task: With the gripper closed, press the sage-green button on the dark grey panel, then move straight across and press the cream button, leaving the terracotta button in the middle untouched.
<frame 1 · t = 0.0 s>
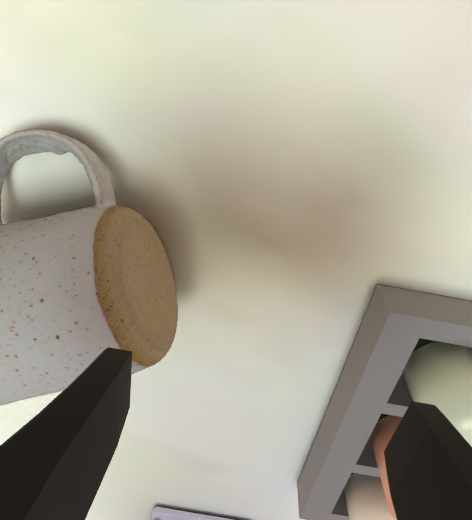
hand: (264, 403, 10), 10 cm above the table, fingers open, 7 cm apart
panel: (394, 411, 24), on the table
ceramic mug: (84, 236, 20), on the table
button terracotta: (413, 467, 21), point 4 cm above the table, slide at 0.0 cm
button sage: (456, 399, 18), point 4 cm above the table, slide at 0.0 cm
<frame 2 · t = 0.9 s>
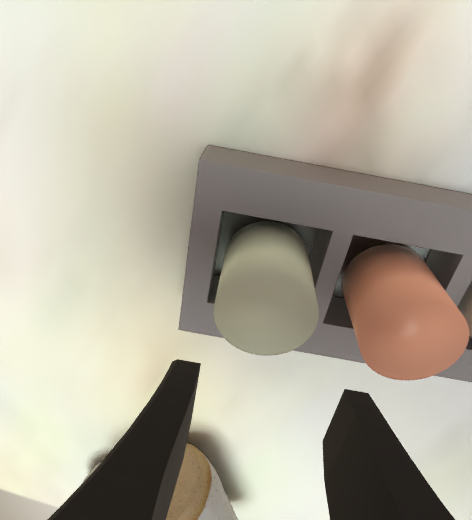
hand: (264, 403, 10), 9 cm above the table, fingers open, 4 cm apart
panel: (375, 263, 19), on the table
ceramic mug: (168, 471, 28), on the table
button terracotta: (396, 308, 15), point 4 cm above the table, slide at 0.0 cm
button sage: (265, 284, 15), point 4 cm above the table, slide at 0.0 cm
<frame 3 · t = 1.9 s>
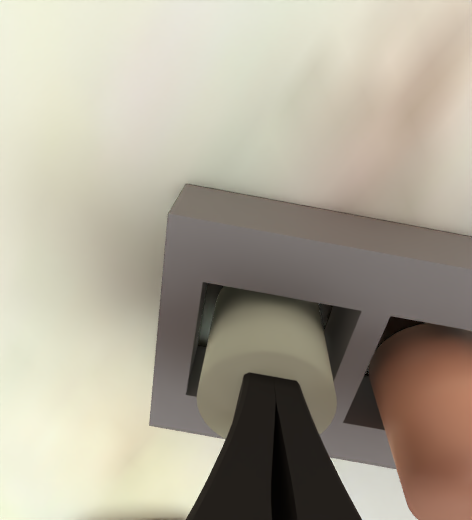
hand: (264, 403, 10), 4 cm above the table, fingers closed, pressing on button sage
panel: (410, 335, 14), on the table
button terracotta: (452, 420, 11), point 4 cm above the table, slide at 0.0 cm
button sage: (266, 352, 12), point 2 cm above the table, slide at 1.4 cm, touching gripper
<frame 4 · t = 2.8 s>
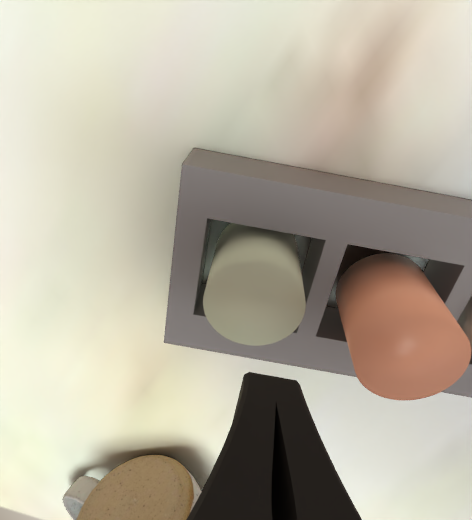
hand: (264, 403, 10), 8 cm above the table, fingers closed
panel: (371, 272, 18), on the table
ceramic mug: (152, 485, 27), on the table
button terracotta: (393, 322, 14), point 4 cm above the table, slide at 0.0 cm
button sage: (255, 276, 16), point 2 cm above the table, slide at 1.4 cm
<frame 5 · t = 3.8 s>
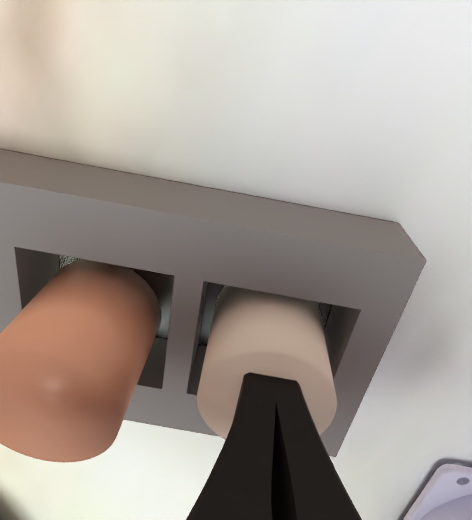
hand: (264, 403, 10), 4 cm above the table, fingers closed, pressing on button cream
panel: (121, 282, 14), on the table
button cream: (266, 352, 12), point 2 cm above the table, slide at 1.3 cm, touching gripper
button terracotta: (78, 351, 11), point 4 cm above the table, slide at 0.0 cm
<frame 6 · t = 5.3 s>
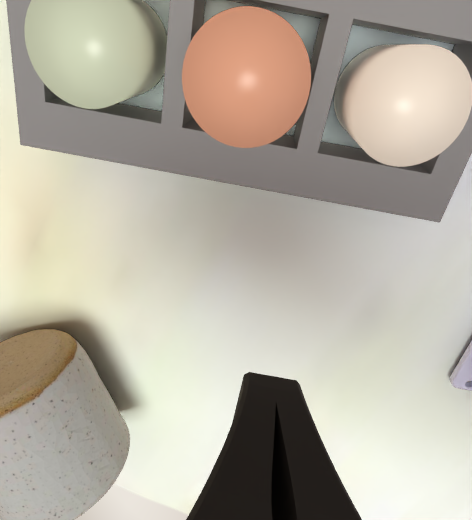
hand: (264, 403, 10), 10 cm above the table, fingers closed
panel: (252, 71, 16), on the table
button cream: (393, 101, 14), point 2 cm above the table, slide at 1.4 cm
ceramic mug: (54, 375, 26), on the table
button terracotta: (248, 77, 13), point 4 cm above the table, slide at 0.0 cm
button sage: (105, 47, 14), point 2 cm above the table, slide at 1.4 cm
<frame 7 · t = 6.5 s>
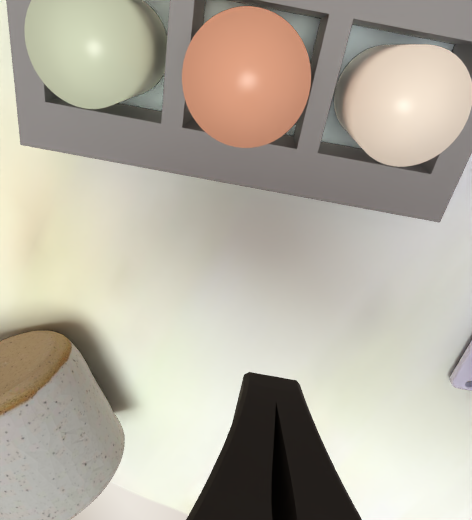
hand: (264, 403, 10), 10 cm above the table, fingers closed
panel: (252, 71, 16), on the table
button cream: (393, 101, 14), point 2 cm above the table, slide at 1.4 cm
ceramic mug: (49, 376, 26), on the table
button terracotta: (248, 77, 13), point 4 cm above the table, slide at 0.0 cm
button sage: (105, 47, 14), point 2 cm above the table, slide at 1.4 cm
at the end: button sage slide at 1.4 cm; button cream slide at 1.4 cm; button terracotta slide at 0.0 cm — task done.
